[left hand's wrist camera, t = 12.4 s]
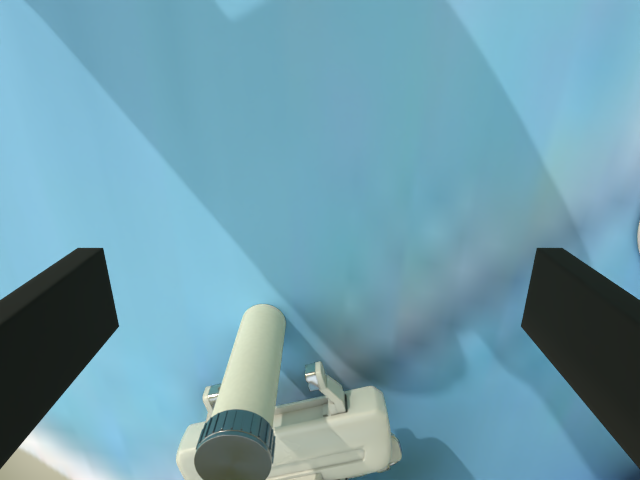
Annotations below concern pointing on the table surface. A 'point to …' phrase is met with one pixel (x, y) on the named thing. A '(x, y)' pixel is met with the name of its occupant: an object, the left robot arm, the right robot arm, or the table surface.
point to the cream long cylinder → (254, 364)
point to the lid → (235, 447)
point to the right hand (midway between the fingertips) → (261, 378)
